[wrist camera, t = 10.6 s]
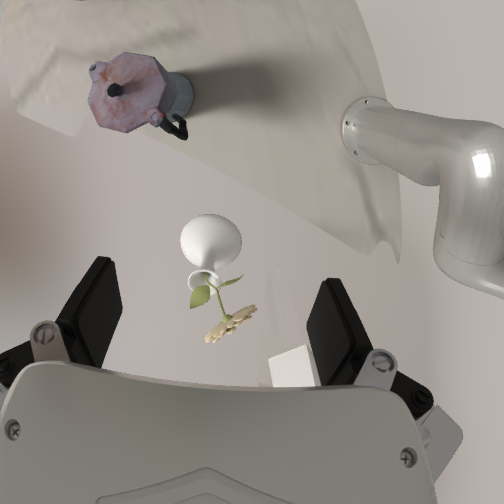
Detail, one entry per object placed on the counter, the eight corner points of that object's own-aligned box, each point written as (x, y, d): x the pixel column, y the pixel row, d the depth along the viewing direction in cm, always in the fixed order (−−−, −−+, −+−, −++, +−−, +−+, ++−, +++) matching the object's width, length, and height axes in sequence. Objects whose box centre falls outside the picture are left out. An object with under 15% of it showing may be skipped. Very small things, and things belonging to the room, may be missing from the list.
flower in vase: (195, 269, 55) (176, 373, 33) (172, 220, 49) (131, 317, 28) (256, 252, 53) (270, 357, 32) (239, 200, 48) (243, 292, 26)
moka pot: (153, 53, 32) (98, 27, 15) (225, 101, 38) (216, 99, 21) (120, 98, 36) (51, 105, 19) (189, 145, 42) (156, 178, 25)
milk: (268, 358, 72) (278, 443, 50) (306, 344, 69) (326, 430, 47) (285, 376, 78) (296, 451, 56) (319, 363, 75) (338, 439, 53)
